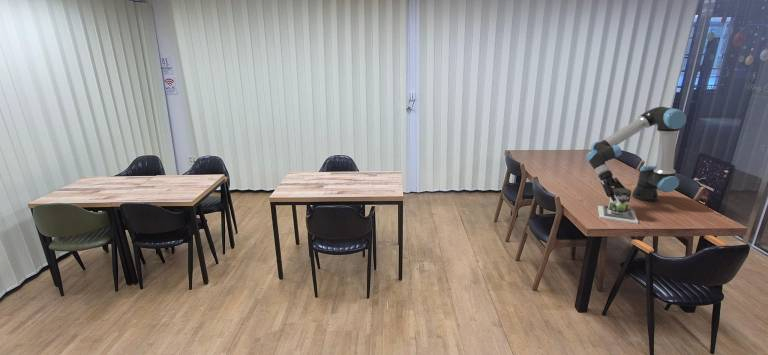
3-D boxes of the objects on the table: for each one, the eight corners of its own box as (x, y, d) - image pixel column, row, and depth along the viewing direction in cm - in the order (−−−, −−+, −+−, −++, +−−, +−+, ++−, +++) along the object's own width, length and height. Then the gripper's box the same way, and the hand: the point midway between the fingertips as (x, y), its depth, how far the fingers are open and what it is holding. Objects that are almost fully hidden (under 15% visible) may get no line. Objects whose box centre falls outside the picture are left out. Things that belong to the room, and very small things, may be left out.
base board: (633, 211, 232) (634, 208, 231) (638, 223, 215) (638, 220, 214) (598, 206, 241) (598, 203, 240) (599, 218, 224) (600, 214, 223)
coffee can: (629, 214, 221) (634, 193, 217) (611, 213, 223) (615, 191, 219) (623, 208, 231) (627, 187, 226) (605, 207, 233) (609, 186, 229)
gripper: (609, 172, 239) (629, 202, 231) (587, 178, 229) (608, 209, 221) (619, 167, 233) (640, 197, 224) (597, 172, 223) (618, 204, 214)
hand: (624, 203), depth 223 cm, fingers closed on coffee can, 10 cm apart
